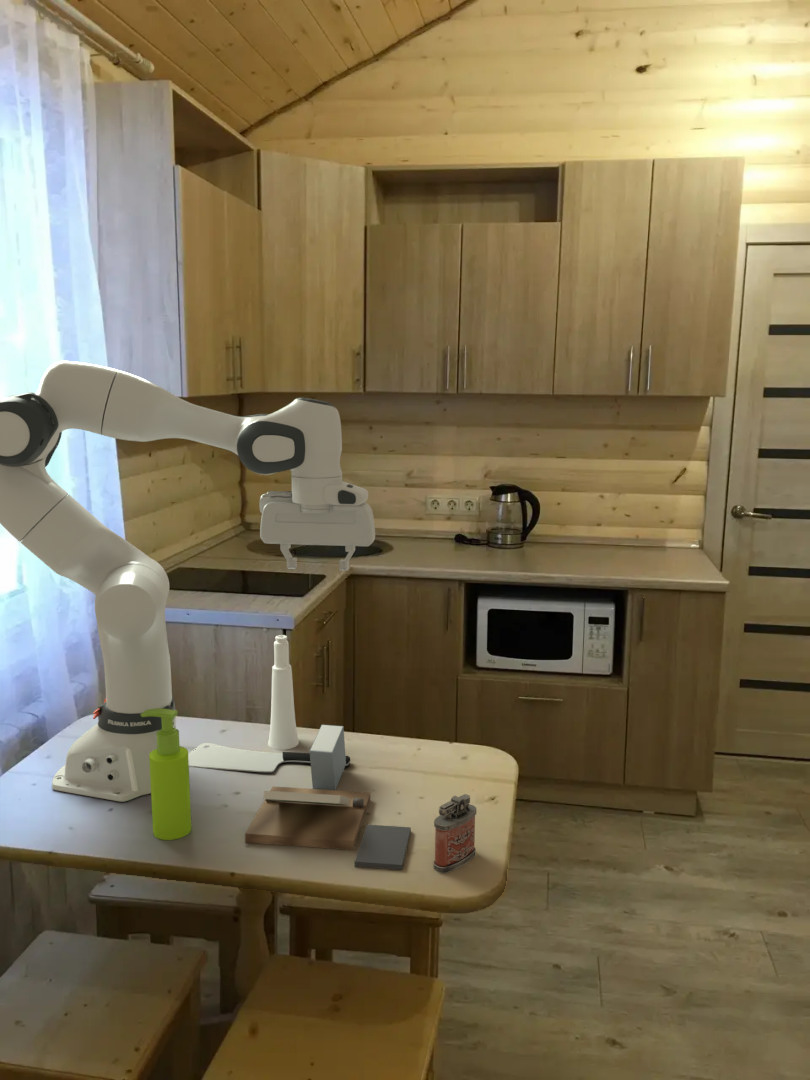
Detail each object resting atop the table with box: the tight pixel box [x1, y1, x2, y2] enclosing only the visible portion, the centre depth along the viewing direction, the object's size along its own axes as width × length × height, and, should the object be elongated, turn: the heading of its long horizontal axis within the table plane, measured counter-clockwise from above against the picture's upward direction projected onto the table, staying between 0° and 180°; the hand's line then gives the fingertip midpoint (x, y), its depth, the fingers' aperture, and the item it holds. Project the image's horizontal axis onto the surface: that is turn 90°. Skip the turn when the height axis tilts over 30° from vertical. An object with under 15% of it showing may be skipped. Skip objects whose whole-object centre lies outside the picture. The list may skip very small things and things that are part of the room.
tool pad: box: [354, 823, 412, 871], centre depth 137 cm, size 7×11×1 cm, turn 173°
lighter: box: [433, 793, 477, 874], centre depth 132 cm, size 8×3×10 cm, turn 136°
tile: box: [263, 790, 351, 806], centre depth 143 cm, size 12×10×1 cm
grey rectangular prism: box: [309, 724, 347, 790], centre depth 158 cm, size 4×8×8 cm
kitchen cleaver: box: [188, 742, 351, 773], centre depth 165 cm, size 31×2×10 cm
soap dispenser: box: [140, 708, 192, 841], centre depth 140 cm, size 6×7×20 cm
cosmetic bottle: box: [267, 634, 300, 751], centre depth 172 cm, size 6×6×22 cm
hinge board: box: [244, 786, 371, 851], centre depth 145 cm, size 17×16×3 cm
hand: (318, 569), depth 159 cm, fingers open, 8 cm apart
